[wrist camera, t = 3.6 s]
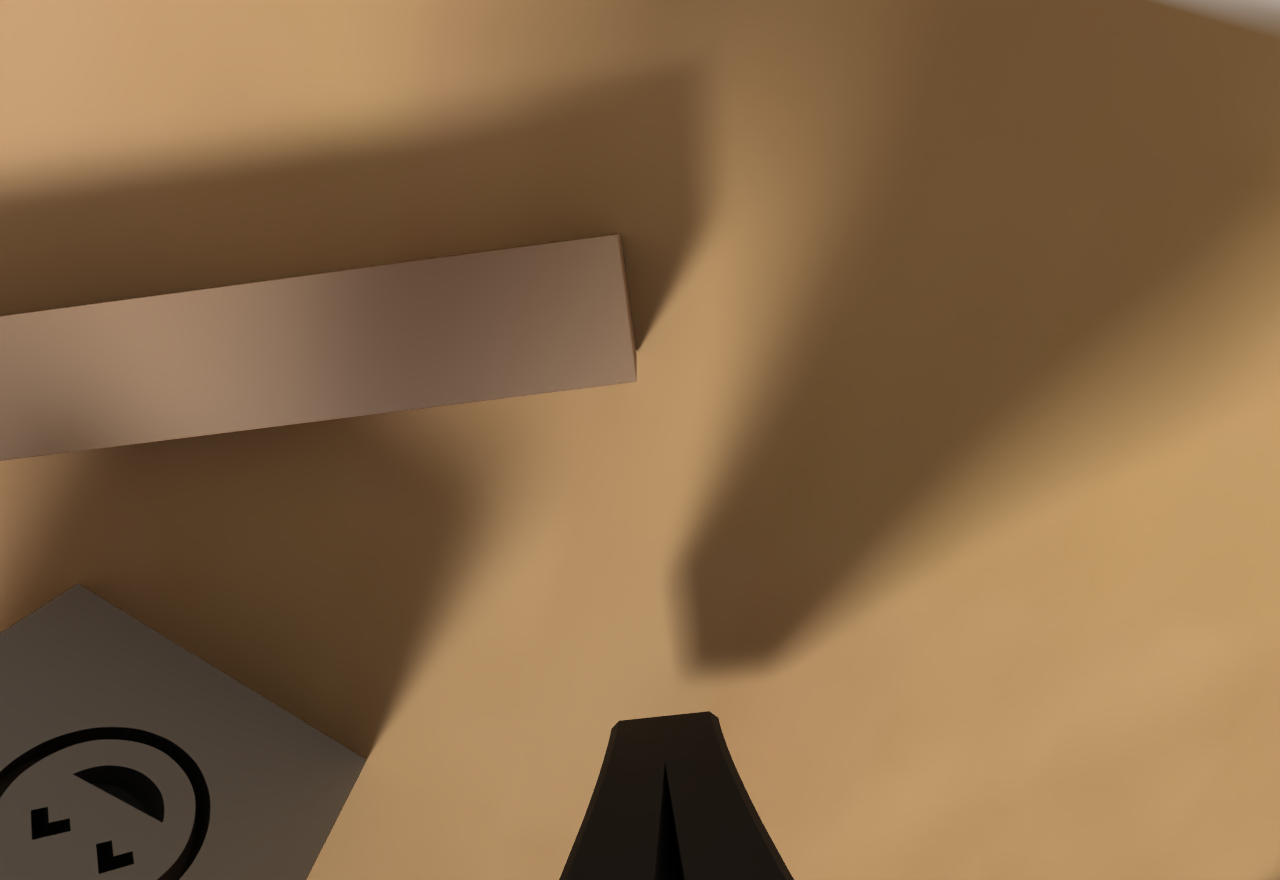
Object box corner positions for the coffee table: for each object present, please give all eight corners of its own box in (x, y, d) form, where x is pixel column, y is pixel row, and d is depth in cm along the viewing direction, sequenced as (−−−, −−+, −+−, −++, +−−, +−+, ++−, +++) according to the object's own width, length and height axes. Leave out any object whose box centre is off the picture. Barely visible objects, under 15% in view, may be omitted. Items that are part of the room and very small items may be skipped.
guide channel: (620, 228, 8) (611, 230, 5) (719, 997, 12) (744, 1232, 9) (-706, 405, 8) (-1410, 498, 5) (-146, 1074, 13) (-372, 1318, 10)
